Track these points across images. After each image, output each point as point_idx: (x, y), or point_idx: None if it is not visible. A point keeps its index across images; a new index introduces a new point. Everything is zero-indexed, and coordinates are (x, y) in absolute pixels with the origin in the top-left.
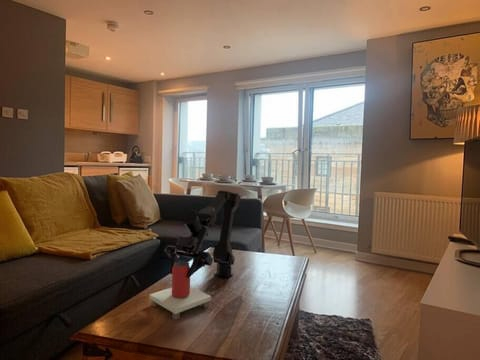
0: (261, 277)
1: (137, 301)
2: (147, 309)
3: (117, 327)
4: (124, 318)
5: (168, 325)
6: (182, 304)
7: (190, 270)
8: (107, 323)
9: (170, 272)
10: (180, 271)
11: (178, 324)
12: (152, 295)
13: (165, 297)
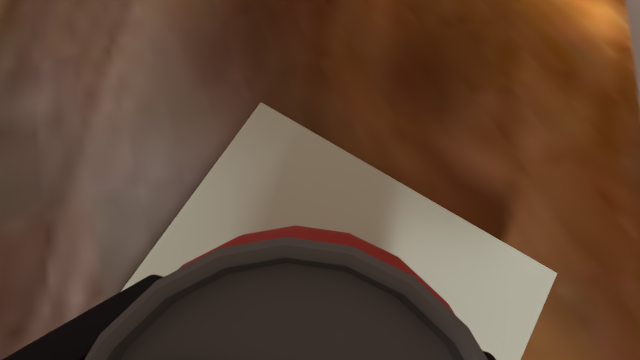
0: None
1: (616, 303)
2: (484, 214)
3: (506, 14)
4: (535, 89)
5: (287, 86)
6: (237, 179)
7: (50, 342)
8: (574, 30)
9: (486, 353)
10: (250, 235)
11: (240, 107)
12: (522, 260)
13: (407, 255)
